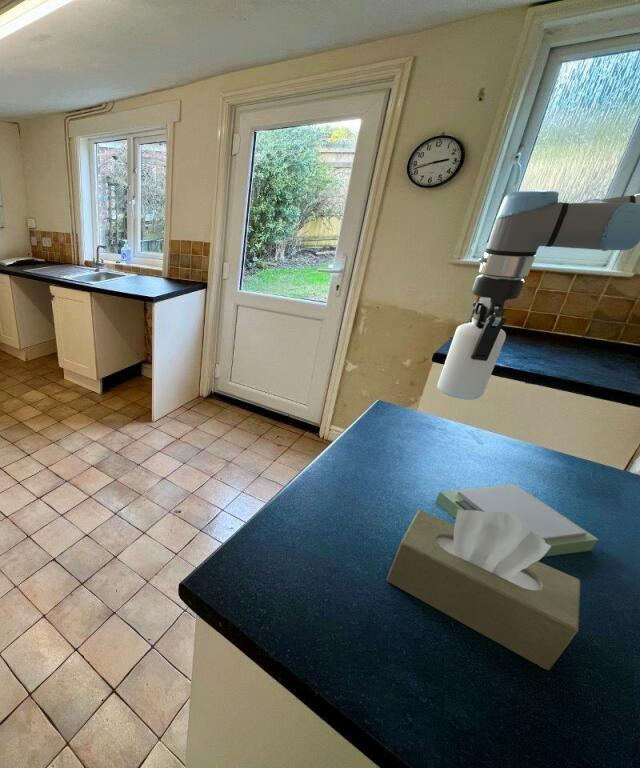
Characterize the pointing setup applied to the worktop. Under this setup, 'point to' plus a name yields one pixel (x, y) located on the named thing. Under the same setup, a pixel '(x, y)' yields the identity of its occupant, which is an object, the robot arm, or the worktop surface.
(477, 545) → the tissue box
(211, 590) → the worktop surface
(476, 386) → the white bottle
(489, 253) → the robot arm
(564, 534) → the kitchen scale
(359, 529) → the worktop surface
